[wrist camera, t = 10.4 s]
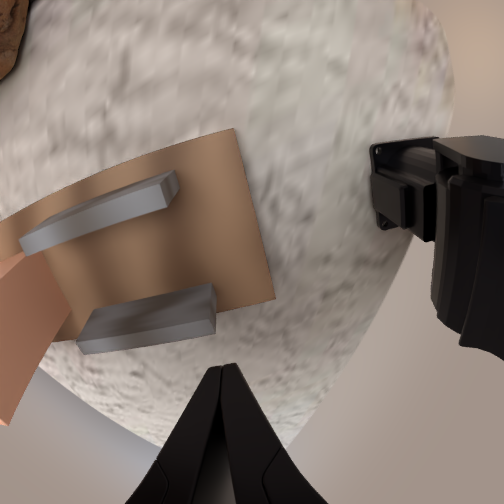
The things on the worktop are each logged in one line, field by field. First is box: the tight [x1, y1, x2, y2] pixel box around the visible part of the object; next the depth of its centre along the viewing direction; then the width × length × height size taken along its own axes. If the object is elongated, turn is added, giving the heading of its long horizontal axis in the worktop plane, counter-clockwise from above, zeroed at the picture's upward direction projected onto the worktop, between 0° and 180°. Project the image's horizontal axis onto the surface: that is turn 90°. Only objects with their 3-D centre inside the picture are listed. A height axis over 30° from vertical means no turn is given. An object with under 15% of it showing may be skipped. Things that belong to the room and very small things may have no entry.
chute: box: [0, 128, 276, 355], centre depth 18 cm, size 22×12×6 cm, turn 103°
